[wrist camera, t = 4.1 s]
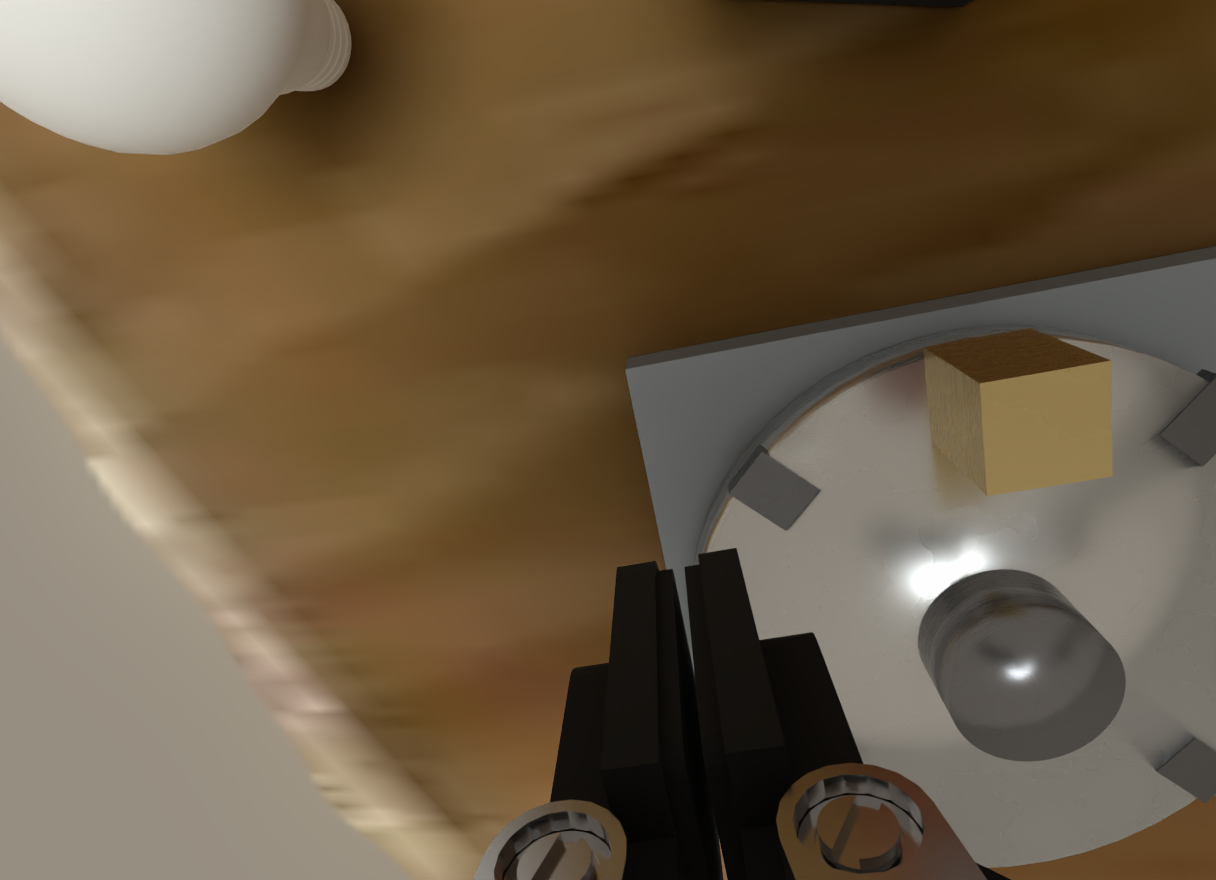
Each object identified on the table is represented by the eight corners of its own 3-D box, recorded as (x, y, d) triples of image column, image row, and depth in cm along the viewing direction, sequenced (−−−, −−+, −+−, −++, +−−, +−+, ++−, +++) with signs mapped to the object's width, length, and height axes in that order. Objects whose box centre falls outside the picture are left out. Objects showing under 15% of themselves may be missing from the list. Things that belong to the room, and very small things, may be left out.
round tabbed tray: (1254, 786, 24) (1419, 957, 18) (736, 839, 26) (753, 1004, 21) (1283, 260, 19) (1518, 289, 14) (644, 379, 21) (636, 443, 16)
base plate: (627, 357, 23) (624, 370, 21) (1253, 238, 20) (1300, 243, 19) (720, 810, 28) (723, 847, 26) (1230, 756, 25) (1266, 793, 24)
